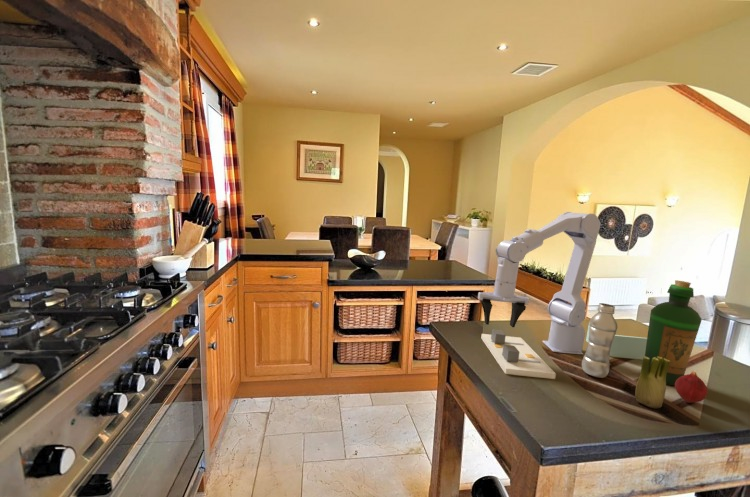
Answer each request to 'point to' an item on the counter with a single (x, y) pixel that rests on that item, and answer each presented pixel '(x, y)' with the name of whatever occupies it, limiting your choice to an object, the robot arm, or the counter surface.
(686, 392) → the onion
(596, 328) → the plastic bottle
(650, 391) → the fennel bulb
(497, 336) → the switch
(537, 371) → the switch console
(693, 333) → the bottle
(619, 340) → the l-shaped corner panel
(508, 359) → the switch
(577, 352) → the robot arm
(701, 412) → the counter surface
